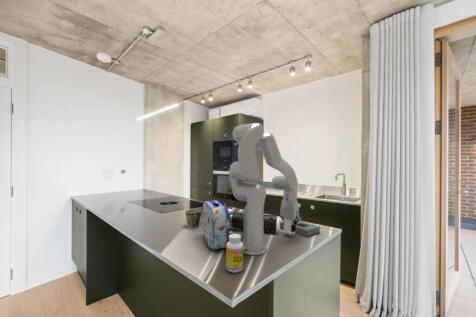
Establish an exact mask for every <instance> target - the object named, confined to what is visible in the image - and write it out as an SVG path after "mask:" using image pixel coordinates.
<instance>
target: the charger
mask: <svg viewBox="0 0 476 317" xmlns="http://www.w3.org/2000/svg"><path fill="white" fill-rule="evenodd" d="M291 225H292V220H291V219H287V218H284V230H283V233H284V234H288V235H293V234H295V232H291Z"/></svg>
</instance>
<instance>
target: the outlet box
mask: <svg viewBox="0 0 476 317" xmlns="http://www.w3.org/2000/svg"><path fill="white" fill-rule="evenodd" d="M279 229H281V230H283V231H284V222H283V221H280V222H279ZM294 234H295V235H297V236H301V237H304V238H311V237H314V236H317V235H319V234H321V226H319V225H315V224H311V223H307V222H303V221H302V220H301V221H299V222H298V223H297V224H296V231H295V233H294Z"/></svg>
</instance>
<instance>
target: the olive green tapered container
mask: <svg viewBox="0 0 476 317" xmlns="http://www.w3.org/2000/svg"><path fill="white" fill-rule="evenodd" d="M184 214H185V218H186V224H187V227H188V228H189V229H198V227H199V226H200V219H201V217H202V209H187V210H185V213H184Z"/></svg>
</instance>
